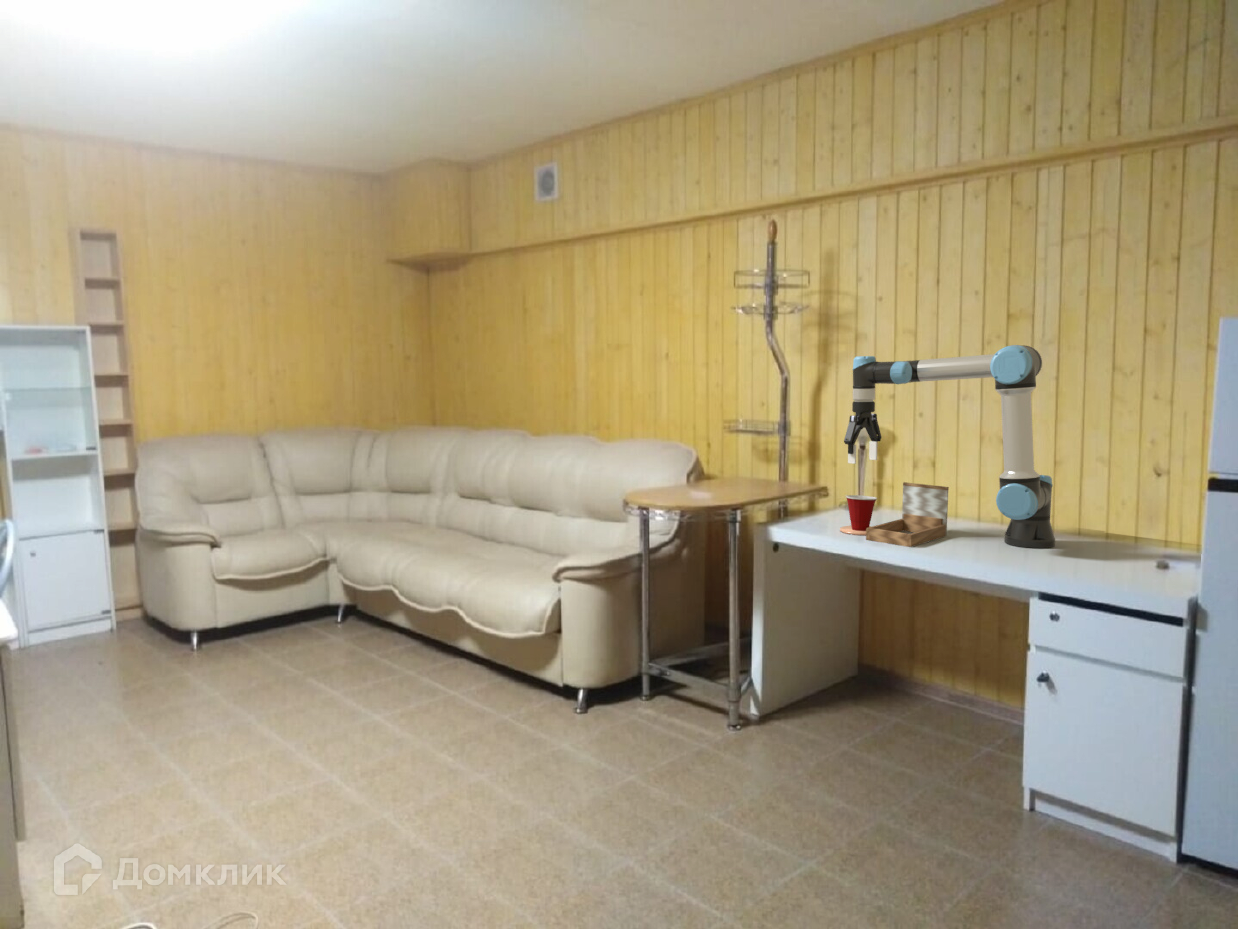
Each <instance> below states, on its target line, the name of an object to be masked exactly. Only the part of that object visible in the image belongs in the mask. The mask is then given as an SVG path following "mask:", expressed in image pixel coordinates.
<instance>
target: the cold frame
mask: <svg viewBox="0 0 1238 929" xmlns="http://www.w3.org/2000/svg"><path fill="white" fill-rule="evenodd" d="M948 506H949V486H942V485H931V484H923V483H914V482H905V481H904V482H902V507H901V508H902V512H901V518H899V519H896V520H892V521H888V522H885V523H880V524H877V525H873V526H871V527H869V528H866V536H865V540H866V541H872V542H877V543H883V544H890V545H897V546H903V547H909V548H912V546H913V547H915V546H919V545H922V544H925V542H926V543H928V541H929V542H931V540H932V541H935V540H938V539H942V538H945V537H947V536H948V533H947V532H948V513H949V512H948V508H949V507H948ZM906 532H907V533H906ZM909 532H910V533H909Z"/></svg>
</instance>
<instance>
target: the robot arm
mask: <svg viewBox="0 0 1238 929" xmlns="http://www.w3.org/2000/svg"><path fill="white" fill-rule="evenodd" d="M852 361H853V363H852V400H853V401H852V407H851V408H852V410H851V411H852V412H853V413H854V414H855V415H849V418H848V419H849V420H848V425H847V429H846V432H845V435H844V436H845V437H844V440H843V443H844V444H845V445H847V464H854V465H856V464H857V444H856V442H857V439H858V437H859V435H860V433H861V431H862V430H863V429H865V431H866V432H867V435H868V436H869V439H870V440H869V443H868V445H869V446H868V447H869V448H868V449H869V450H868V452H869V454H868V459H869V460H872V461H877V460H878V442H881V439H882V434H881V430H880V426H879V423H878V415H877V413H875V410H876V409H875V408H876V402H875V401H874V400H876V384H877V385H879V384H881V385H882V384H886V385H893V384H894V385H903V384H904V385H905V384H908V383H920V382H934V381H951V380H953V381H954V380H968V379H969V380H970V379H971V380H972V379H988V378H993V379H994V385H995V386H994V390H995V392H997V393H998V394H999V395H1000V404H1001V409H1000V410H1001V426H1002V427H1001V428H1002V430H1001V432H1002V451H1003V454H1002V455H1003V472H1002V473H1001V474H1000V475H999V477H998V478H999V479H998V480H999V490H998V491H997V494H996V499H995V502H996V506H997V509H998V510H999V511H1000V513H1001V515H1003V516H1004V517H1006V518H1008V519H1009V523H1008V526H1007V528H1006V531H1005V533H1004V538H1003V541H1004V543H1005V544H1007V545H1010V546H1015V547H1021V548H1029V549H1031V548H1032V549H1034V548H1035V549H1046V548H1047V549H1048V548H1052V547H1055V546H1056V537H1055V534H1054V531H1053V530H1054V529H1053V527H1052V524H1051V510H1052V495H1053V494H1052V491H1053V490H1052V489H1053V478H1052V477H1051V476H1050V475H1048V474H1047V475H1044V474H1040V473H1038V472H1037V471H1036V470H1035V462H1034V461H1035V460H1034V439H1033V438H1034V435H1033V434H1034V433H1033V432H1034V431H1033V411H1032V410H1033V409H1032V393H1033V391H1034V390H1035V389H1036V388H1037V376H1038V374H1039V373H1041V370H1042V368H1043V359H1042V356H1041V353H1039V351H1038V350H1037V349H1035V348H1034V347H1032V346H1029V345H1020V344H1012V345H1007V346H1004V347H1003V348H1000V349H999V350H997V351H996V352H995V353H993V354H992V353H991V354H980V355H979V354H978V355H968V356H967V355H966V356H956V357H955V356H953V357H941V358H928V359H919V360H917V359H915V360H903V361H901V360H896V361H895V360H894V361H877V358H876V356H874V355H871V356H870V355H868V356H867V355H862V356H861V355H860V356H859V355H857V356H855V357H854V358H853V360H852Z"/></svg>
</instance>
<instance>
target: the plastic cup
mask: <svg viewBox="0 0 1238 929" xmlns="http://www.w3.org/2000/svg"><path fill="white" fill-rule="evenodd" d="M845 498H846V501H847V506H848V514H849V520H850V526H851V527H852V529H853V530H857V531H866V528H869V526H871V520H872V517H873V512H874V506H875V504H876V501H877V500H878V498H877V497H876V496H870V495H869V496H868V495H859V494H858V495H853V494H852V495H851V494H849V495H845Z"/></svg>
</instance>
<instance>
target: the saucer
mask: <svg viewBox="0 0 1238 929" xmlns="http://www.w3.org/2000/svg"><path fill="white" fill-rule="evenodd" d="M869 527H872V526H871V525H870V526H869ZM839 532H841V533H842V534H845V535H850V534H852V535H851V536H865V537H866V531H857V530H853V529H852V527H851V525H843V526H841V527H840V528H839Z"/></svg>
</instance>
